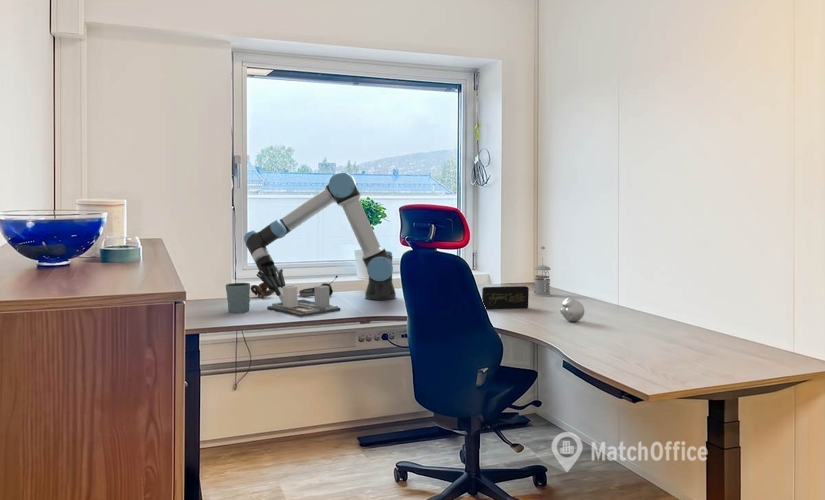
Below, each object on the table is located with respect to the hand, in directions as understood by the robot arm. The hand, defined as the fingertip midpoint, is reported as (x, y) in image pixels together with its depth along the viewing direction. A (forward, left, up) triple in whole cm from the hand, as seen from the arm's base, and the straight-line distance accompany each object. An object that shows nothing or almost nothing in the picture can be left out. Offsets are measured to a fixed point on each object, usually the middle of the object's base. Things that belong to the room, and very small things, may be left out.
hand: (284, 300), depth 263 cm
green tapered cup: (+20, +1, -4) cm, 20 cm away
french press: (-129, -16, -4) cm, 130 cm away
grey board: (-8, +3, -4) cm, 10 cm away
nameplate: (-96, +17, -4) cm, 98 cm away
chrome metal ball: (-112, +49, -4) cm, 123 cm away
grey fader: (-16, +5, -3) cm, 17 cm away
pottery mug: (+10, -36, -4) cm, 38 cm away
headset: (-17, -37, -4) cm, 41 cm away
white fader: (-2, +2, -3) cm, 4 cm away
